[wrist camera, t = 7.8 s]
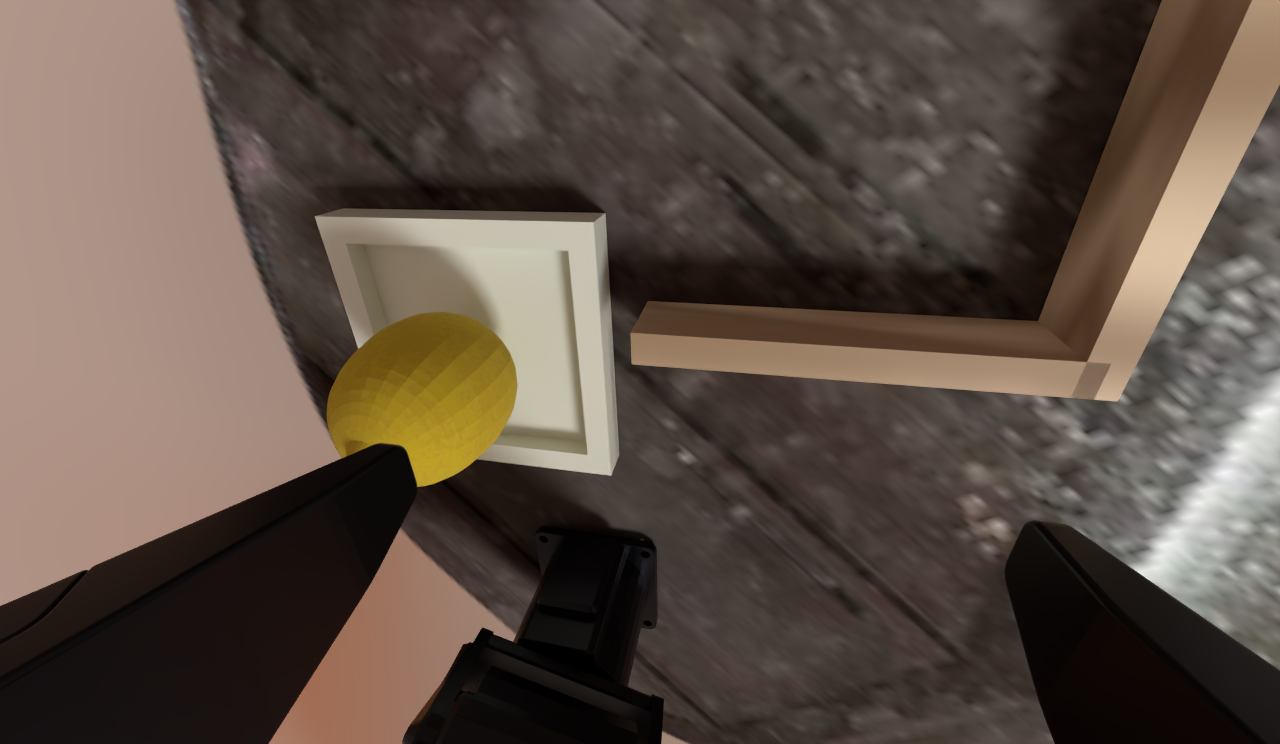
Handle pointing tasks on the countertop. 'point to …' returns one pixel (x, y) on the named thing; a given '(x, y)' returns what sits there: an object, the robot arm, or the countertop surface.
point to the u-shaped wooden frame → (1091, 265)
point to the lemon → (425, 393)
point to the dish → (499, 311)
